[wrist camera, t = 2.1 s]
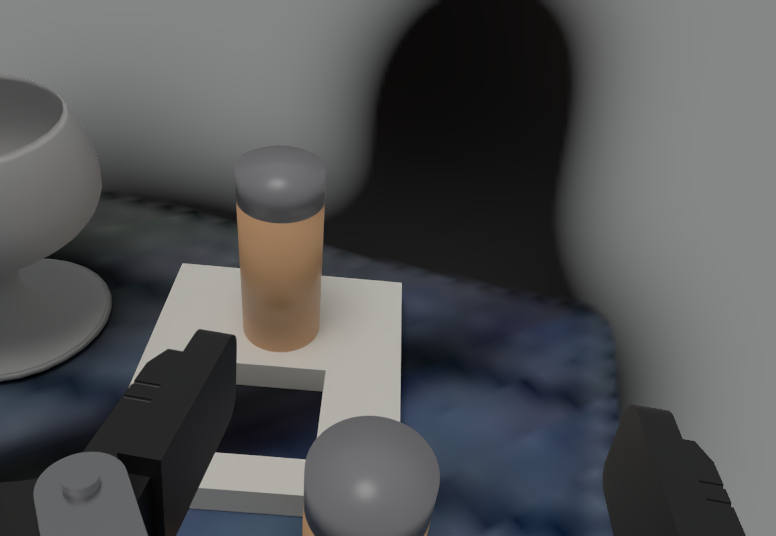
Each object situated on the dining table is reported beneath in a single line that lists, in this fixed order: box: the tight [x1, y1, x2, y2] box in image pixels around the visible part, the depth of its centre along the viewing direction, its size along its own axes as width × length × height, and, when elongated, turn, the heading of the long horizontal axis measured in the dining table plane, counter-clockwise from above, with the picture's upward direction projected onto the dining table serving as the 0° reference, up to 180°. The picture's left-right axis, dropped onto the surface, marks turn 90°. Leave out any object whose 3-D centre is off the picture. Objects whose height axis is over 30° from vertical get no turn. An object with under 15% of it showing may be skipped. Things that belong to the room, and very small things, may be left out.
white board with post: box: [129, 146, 402, 517], centre depth 38 cm, size 16×18×14 cm
